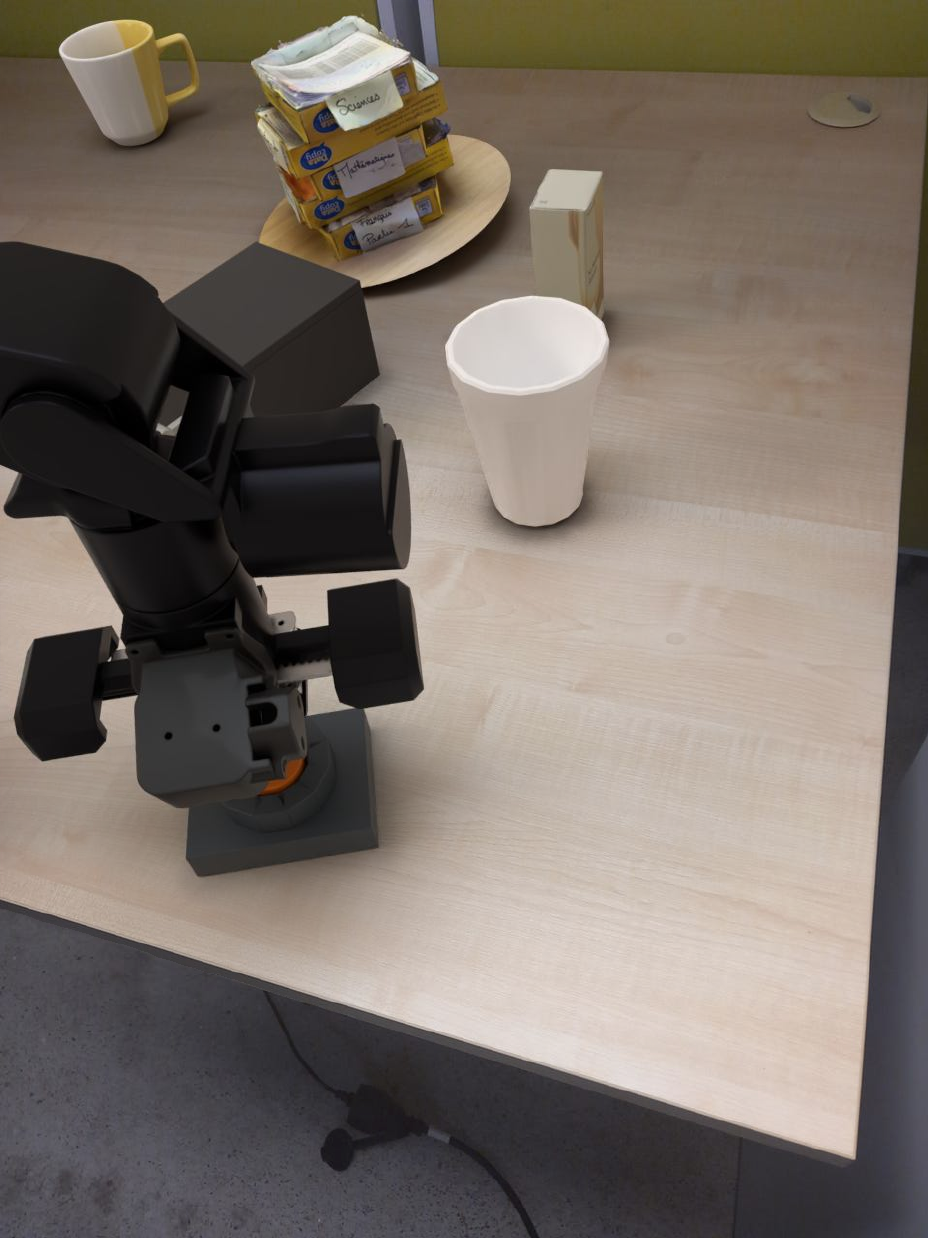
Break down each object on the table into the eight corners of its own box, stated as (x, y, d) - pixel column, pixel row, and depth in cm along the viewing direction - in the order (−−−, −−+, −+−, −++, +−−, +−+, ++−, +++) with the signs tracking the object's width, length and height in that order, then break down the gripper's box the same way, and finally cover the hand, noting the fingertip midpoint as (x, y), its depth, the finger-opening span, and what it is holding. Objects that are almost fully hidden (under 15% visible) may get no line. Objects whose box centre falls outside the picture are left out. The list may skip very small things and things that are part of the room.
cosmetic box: (589, 356, 82) (586, 212, 72) (536, 352, 83) (526, 209, 74) (606, 310, 85) (605, 167, 76) (555, 306, 87) (548, 165, 77)
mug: (97, 164, 114) (58, 65, 106) (93, 127, 121) (57, 31, 113) (217, 135, 116) (188, 36, 108) (207, 100, 122) (178, 4, 114)
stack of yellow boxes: (262, 320, 90) (205, 130, 78) (256, 188, 106) (207, 12, 94) (536, 269, 91) (523, 72, 78) (488, 145, 107) (472, -35, 94)
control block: (198, 877, 56) (174, 842, 53) (204, 754, 61) (183, 716, 58) (378, 848, 56) (365, 811, 53) (370, 727, 61) (357, 687, 58)
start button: (244, 811, 55) (235, 794, 54) (246, 755, 58) (237, 738, 56) (310, 800, 55) (302, 783, 54) (308, 744, 58) (301, 727, 56)
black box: (260, 469, 77) (228, 376, 71) (163, 418, 83) (125, 327, 76) (380, 374, 83) (360, 279, 77) (282, 332, 89) (255, 240, 82)
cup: (451, 473, 75) (426, 318, 65) (580, 437, 76) (575, 279, 66) (491, 567, 68) (469, 410, 58) (632, 526, 69) (635, 365, 59)
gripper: (-87, 758, 38) (79, 929, 50) (406, 676, 38) (456, 868, 50) (-29, 547, 45) (104, 740, 57) (386, 478, 45) (433, 686, 57)
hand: (268, 760), depth 55 cm, fingers closed, pressing on start button
